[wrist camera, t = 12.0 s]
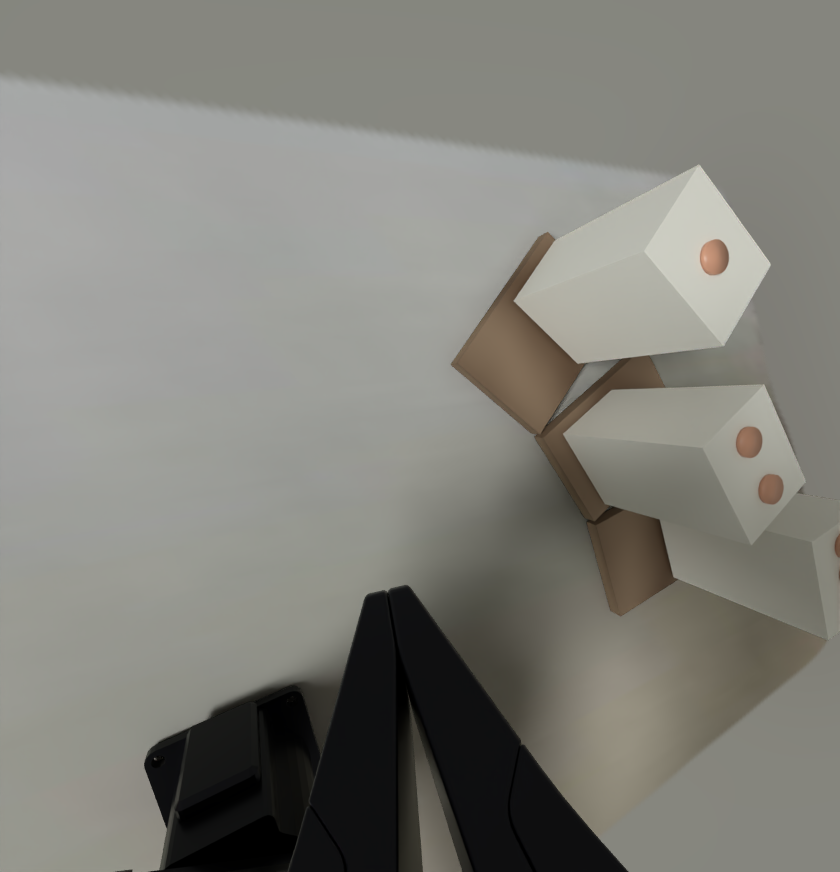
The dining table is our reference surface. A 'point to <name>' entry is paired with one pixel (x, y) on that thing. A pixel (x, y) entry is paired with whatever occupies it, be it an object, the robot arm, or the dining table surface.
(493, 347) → the tile tracks
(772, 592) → the three-dot tile
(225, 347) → the dining table surface
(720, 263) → the white pillar with knob
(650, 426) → the two-bump white pillar
